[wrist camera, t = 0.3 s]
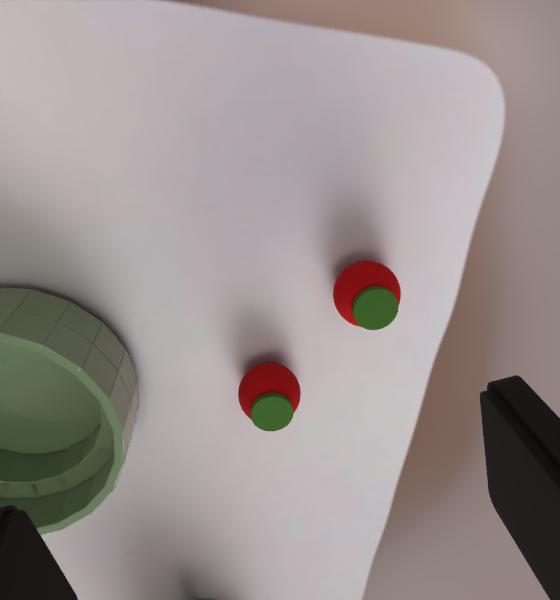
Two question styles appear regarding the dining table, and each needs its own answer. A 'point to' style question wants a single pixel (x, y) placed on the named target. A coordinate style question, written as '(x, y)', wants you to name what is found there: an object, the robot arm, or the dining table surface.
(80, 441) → the fruit bowl
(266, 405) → the strawberry
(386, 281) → the red ball green cap
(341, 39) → the dining table surface
